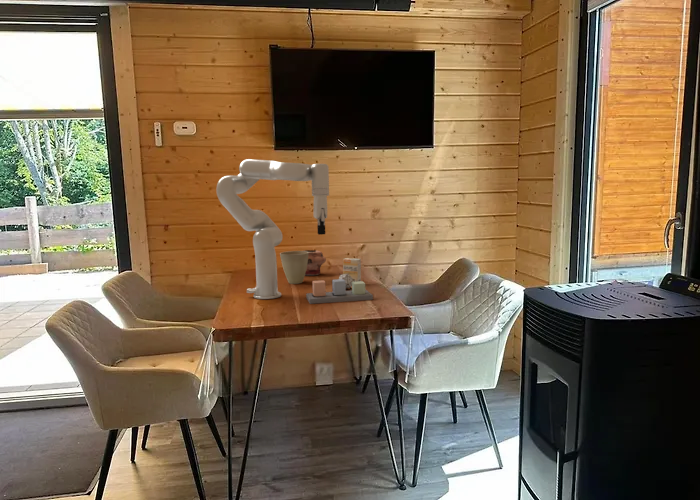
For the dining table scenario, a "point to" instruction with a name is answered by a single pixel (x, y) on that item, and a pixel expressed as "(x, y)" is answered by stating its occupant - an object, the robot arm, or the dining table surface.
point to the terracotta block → (319, 288)
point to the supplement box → (352, 268)
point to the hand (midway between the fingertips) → (321, 234)
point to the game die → (347, 279)
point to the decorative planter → (314, 262)
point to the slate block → (339, 287)
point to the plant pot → (294, 265)
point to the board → (338, 297)
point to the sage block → (358, 288)
